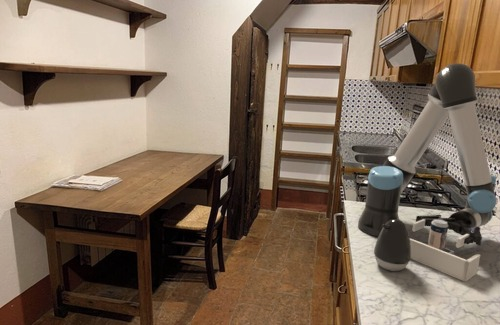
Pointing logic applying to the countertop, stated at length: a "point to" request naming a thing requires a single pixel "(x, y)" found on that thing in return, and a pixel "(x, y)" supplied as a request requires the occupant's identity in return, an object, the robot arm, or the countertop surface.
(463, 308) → the countertop surface
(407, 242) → the black glossy domed part
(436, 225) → the beer can
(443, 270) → the walled box
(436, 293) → the countertop surface
